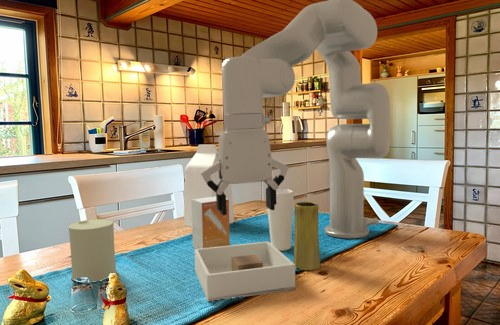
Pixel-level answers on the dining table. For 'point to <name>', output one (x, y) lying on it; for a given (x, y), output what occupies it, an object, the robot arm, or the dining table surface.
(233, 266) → the walnut cube
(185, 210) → the milk
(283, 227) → the drinking glass
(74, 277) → the can
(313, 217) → the vase
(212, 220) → the small box
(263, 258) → the box
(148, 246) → the dining table surface
